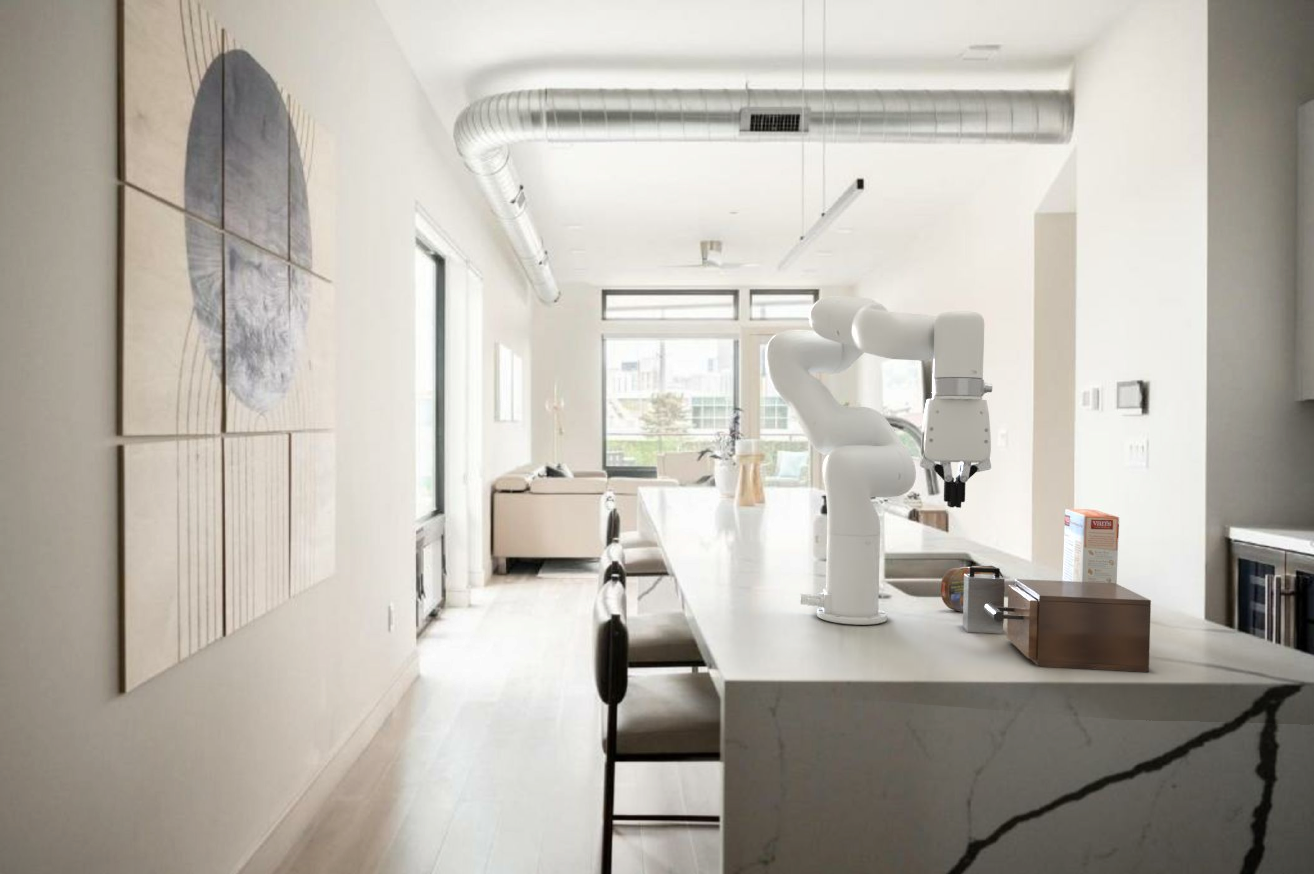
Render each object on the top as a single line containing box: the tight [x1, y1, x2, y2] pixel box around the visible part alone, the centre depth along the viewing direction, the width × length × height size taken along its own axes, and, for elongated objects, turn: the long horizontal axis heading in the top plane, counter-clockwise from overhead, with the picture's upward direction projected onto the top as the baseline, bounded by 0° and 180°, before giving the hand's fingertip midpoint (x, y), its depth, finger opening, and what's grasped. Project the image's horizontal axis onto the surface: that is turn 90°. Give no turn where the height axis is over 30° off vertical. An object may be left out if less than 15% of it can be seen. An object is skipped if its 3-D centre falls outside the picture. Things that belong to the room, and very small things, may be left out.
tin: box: [940, 565, 1006, 613], centre depth 179 cm, size 15×3×8 cm, turn 117°
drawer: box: [984, 584, 1038, 660], centre depth 143 cm, size 19×13×9 cm
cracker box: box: [1062, 508, 1120, 584], centre depth 162 cm, size 14×6×21 cm, turn 168°
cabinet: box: [1014, 578, 1152, 673], centre depth 143 cm, size 16×15×11 cm
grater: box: [962, 566, 1006, 635], centre depth 160 cm, size 6×4×11 cm, turn 82°
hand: (954, 506), depth 145 cm, fingers closed
